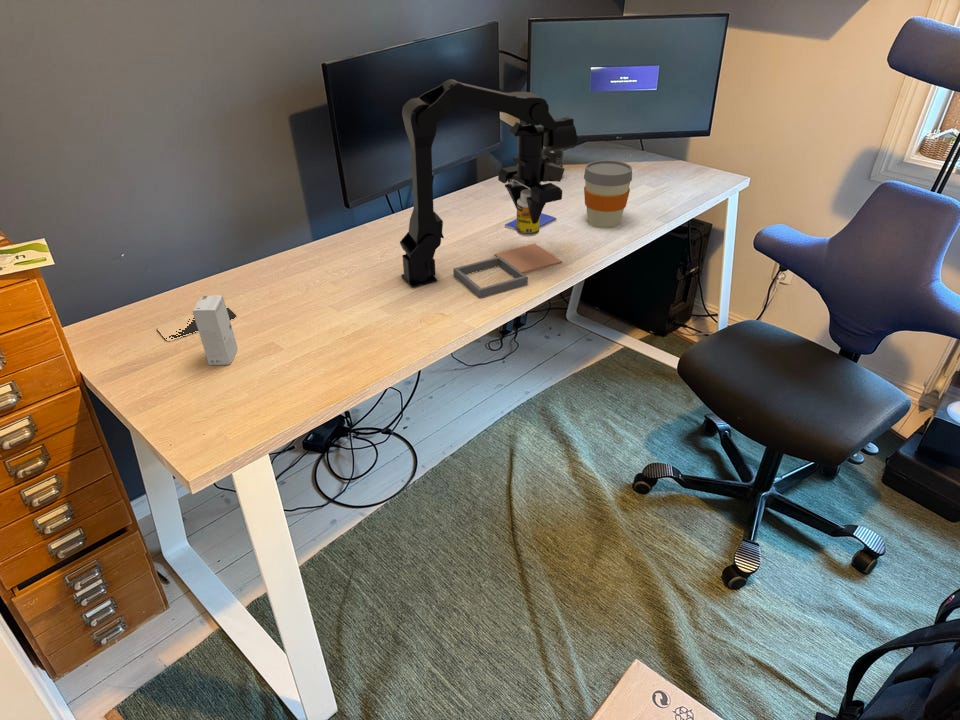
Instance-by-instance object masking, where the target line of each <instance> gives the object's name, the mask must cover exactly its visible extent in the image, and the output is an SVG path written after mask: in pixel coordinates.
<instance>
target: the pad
mask: <svg viewBox="0 0 960 720" xmlns="http://www.w3.org/2000/svg"><path fill="white" fill-rule="evenodd" d="M493 254H494V255H495V256H496V257H499V256H500V257H501V258H503V259H504V260H505V261H507V262H508V263H510V264H511V265H512V266H514V267H515V268H516V269H518V270H519V271H521V272H522V273H523V274H526V273H529V272H534V271H538V270H541V269H544V268H548V267H551V266H556V265H559V264H562V262H563V261H562V260H561V259H560V258H558V257H557V256H555V255H554V254H552V253H550V252H549V251H547V250H546V249H545V248H543V247H541V246H539V245H538V244H537V243H530V244H526V245H522V246H519V247H515V248H511V249H507V250H503V251H499V252H495V253H493ZM494 255H493V256H494ZM495 256H494V257H495Z"/></svg>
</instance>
